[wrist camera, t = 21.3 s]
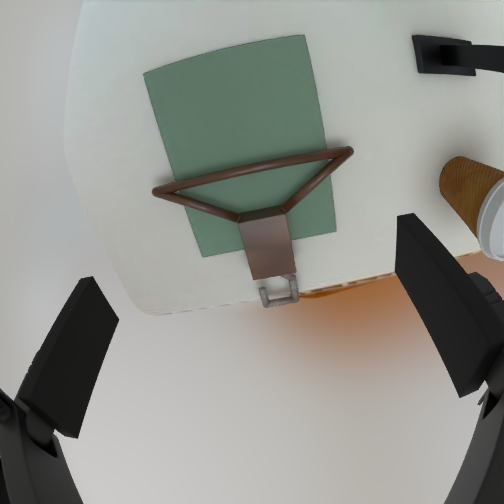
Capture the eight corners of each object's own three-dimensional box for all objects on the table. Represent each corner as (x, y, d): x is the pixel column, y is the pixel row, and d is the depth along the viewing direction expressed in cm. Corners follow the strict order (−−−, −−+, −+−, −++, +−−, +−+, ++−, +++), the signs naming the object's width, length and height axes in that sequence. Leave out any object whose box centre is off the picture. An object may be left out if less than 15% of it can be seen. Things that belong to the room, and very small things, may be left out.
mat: (335, 229, 35) (336, 231, 34) (203, 254, 37) (202, 257, 36) (303, 35, 23) (304, 34, 23) (144, 73, 25) (142, 73, 25)
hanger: (154, 184, 31) (204, 310, 41) (147, 193, 29) (202, 323, 39) (349, 143, 29) (358, 282, 39) (356, 148, 27) (363, 294, 37)
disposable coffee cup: (446, 226, 35) (496, 280, 24) (416, 175, 31) (475, 222, 21) (491, 184, 31) (547, 227, 21) (466, 129, 27) (534, 161, 17)
